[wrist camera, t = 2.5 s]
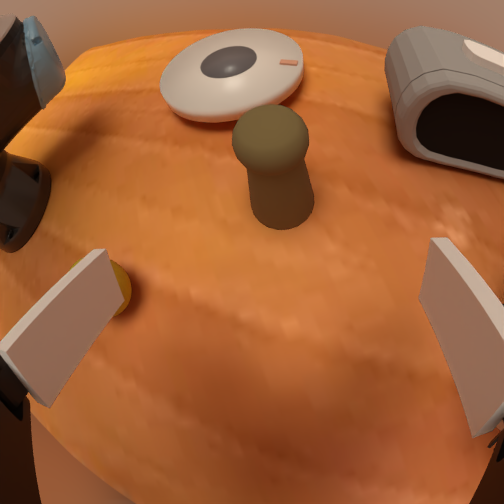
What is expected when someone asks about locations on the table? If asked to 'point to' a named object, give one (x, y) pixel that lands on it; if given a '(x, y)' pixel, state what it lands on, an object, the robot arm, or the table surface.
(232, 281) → the table surface
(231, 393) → the table surface
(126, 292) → the lemon
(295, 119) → the cork
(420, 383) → the table surface
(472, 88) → the alarm clock
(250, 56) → the turntable
